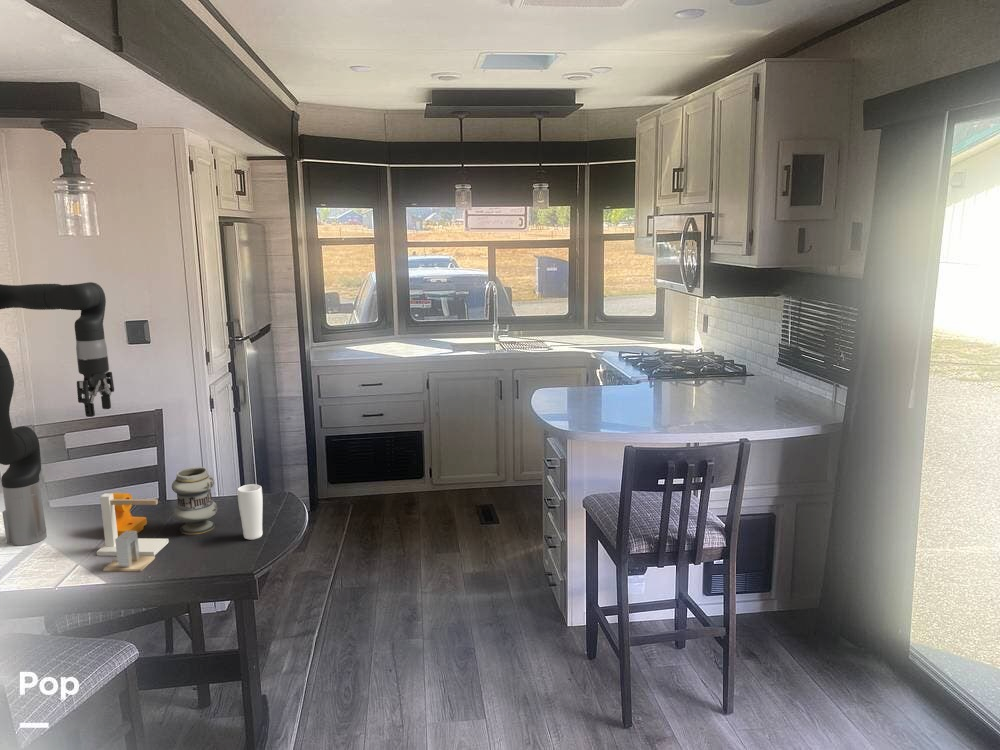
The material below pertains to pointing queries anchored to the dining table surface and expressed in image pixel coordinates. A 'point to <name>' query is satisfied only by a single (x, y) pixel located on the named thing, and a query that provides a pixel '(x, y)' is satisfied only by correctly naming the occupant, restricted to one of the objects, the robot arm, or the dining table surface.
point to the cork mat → (136, 565)
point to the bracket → (127, 516)
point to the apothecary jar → (194, 500)
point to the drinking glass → (251, 510)
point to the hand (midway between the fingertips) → (98, 412)
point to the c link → (127, 548)
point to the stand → (110, 528)
